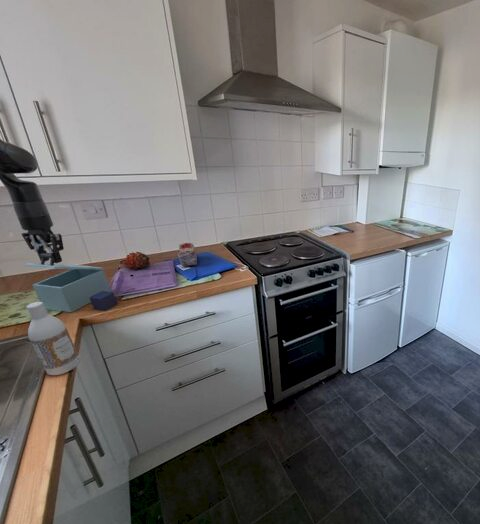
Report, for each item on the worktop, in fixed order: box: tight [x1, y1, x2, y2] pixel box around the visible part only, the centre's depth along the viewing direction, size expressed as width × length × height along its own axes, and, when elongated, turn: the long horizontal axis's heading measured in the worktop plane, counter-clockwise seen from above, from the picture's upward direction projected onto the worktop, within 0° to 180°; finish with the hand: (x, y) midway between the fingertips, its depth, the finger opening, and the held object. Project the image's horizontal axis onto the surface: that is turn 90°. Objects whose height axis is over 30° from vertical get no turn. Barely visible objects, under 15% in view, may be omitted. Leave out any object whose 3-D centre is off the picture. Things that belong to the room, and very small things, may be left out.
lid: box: [25, 252, 104, 270], centre depth 110 cm, size 16×13×5 cm
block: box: [89, 291, 119, 312], centre depth 110 cm, size 5×5×5 cm
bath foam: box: [26, 301, 81, 376], centre depth 78 cm, size 7×7×20 cm
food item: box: [177, 242, 198, 267], centre depth 146 cm, size 14×8×10 cm, turn 31°
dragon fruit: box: [119, 251, 150, 271], centre depth 141 cm, size 8×8×12 cm
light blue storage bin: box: [32, 269, 112, 313], centre depth 113 cm, size 16×13×10 cm
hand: (51, 261), depth 105 cm, fingers closed on lid, 5 cm apart
